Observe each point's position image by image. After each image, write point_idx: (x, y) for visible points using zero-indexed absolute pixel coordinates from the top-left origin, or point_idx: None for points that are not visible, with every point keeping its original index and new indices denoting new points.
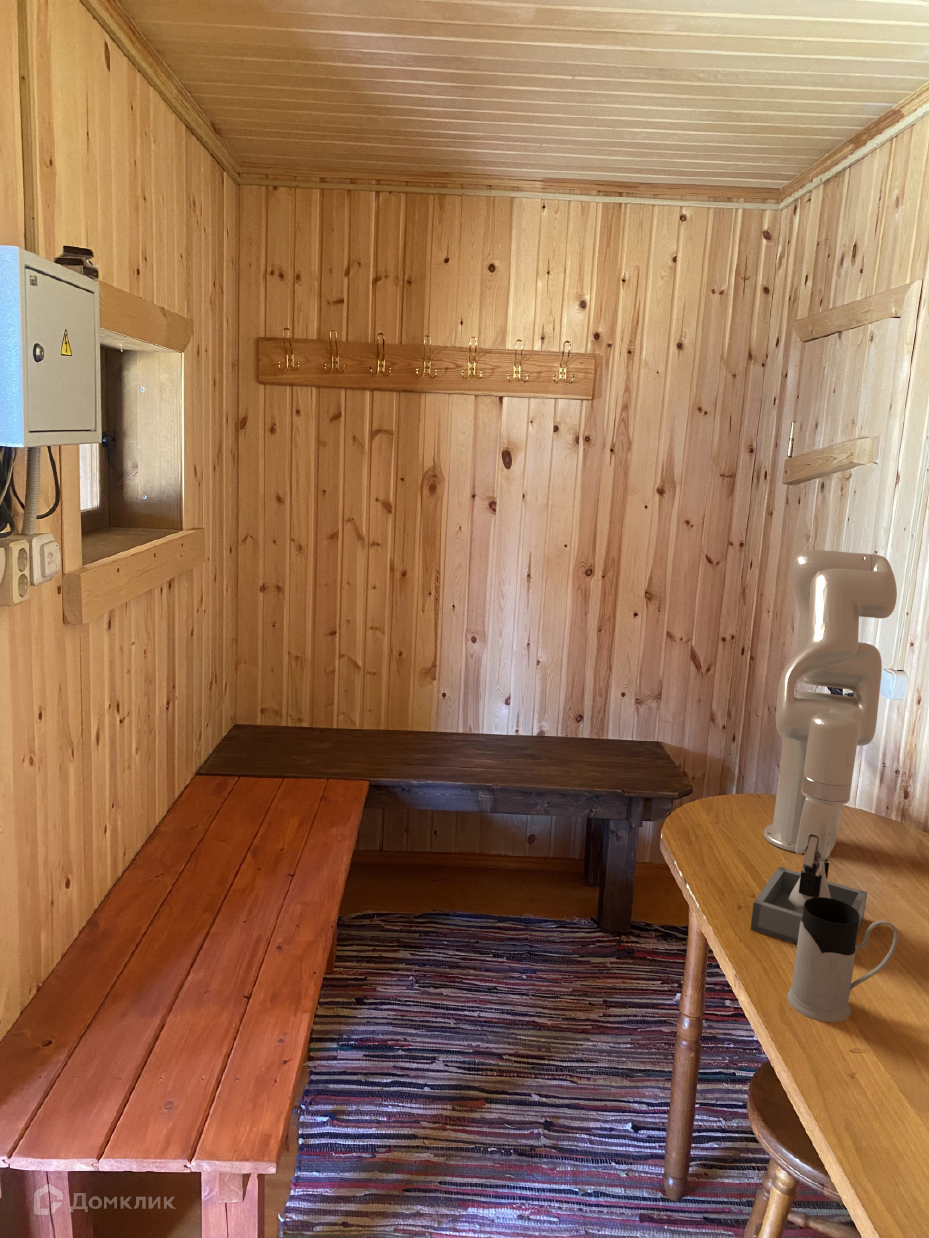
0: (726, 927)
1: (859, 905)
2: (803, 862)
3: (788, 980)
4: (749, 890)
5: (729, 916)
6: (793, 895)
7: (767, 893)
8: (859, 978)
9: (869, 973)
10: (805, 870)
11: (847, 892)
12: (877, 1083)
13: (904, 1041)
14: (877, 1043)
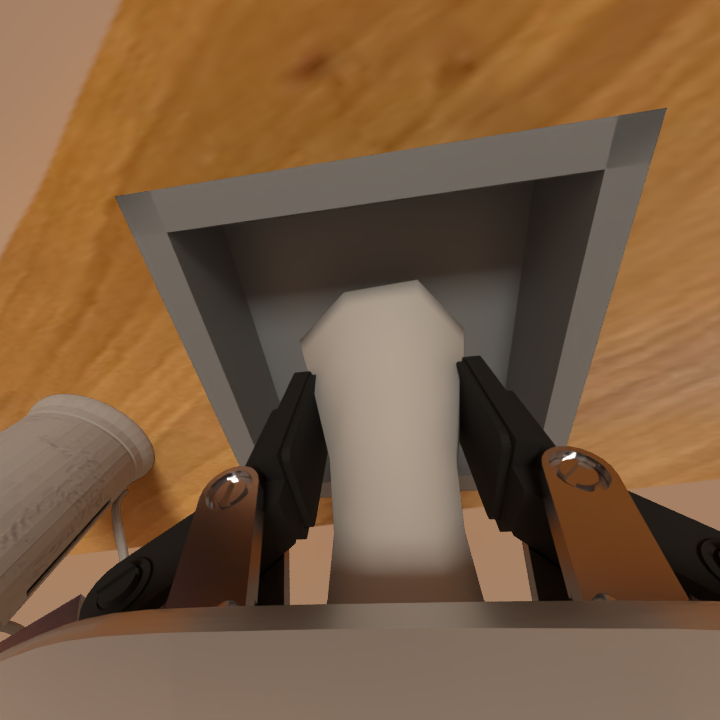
0: (127, 113)
1: None
2: (182, 555)
3: (95, 381)
4: (508, 17)
5: (208, 73)
6: (331, 324)
7: (263, 213)
8: (118, 532)
9: (120, 558)
10: (169, 534)
11: None
12: None
13: (147, 533)
14: (104, 515)
